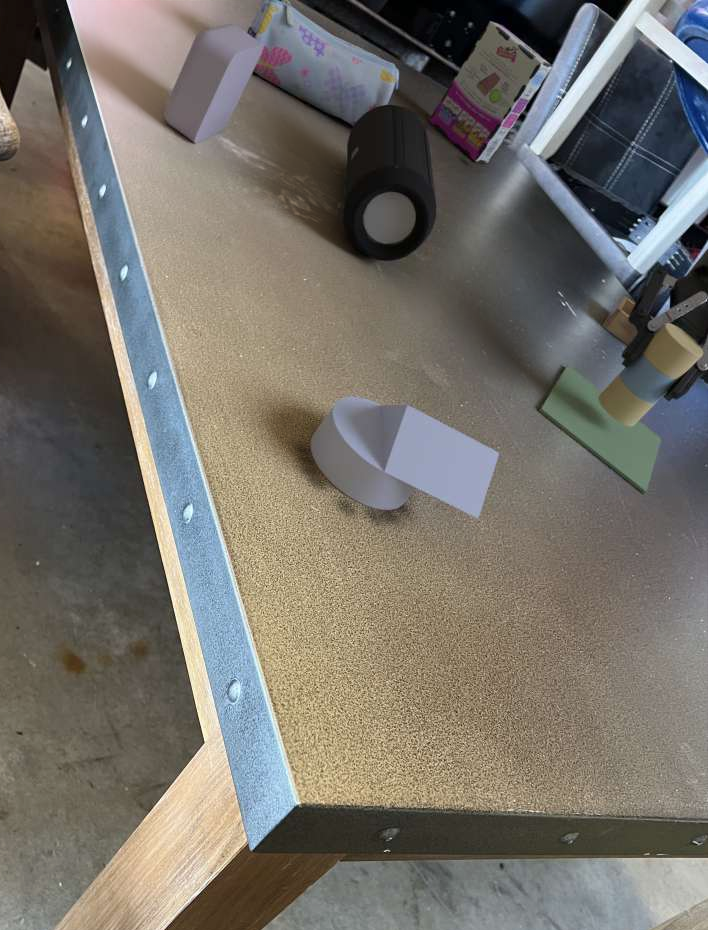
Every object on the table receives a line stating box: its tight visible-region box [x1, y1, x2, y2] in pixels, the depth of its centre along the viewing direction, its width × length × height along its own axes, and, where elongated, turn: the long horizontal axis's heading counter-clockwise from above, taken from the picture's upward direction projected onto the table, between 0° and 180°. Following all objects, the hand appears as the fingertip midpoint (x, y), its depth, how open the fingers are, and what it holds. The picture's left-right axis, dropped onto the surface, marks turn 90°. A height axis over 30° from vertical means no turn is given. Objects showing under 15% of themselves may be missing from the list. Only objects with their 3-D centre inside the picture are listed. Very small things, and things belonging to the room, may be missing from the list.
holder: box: [601, 295, 655, 347], centre depth 133 cm, size 7×7×3 cm
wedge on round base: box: [310, 396, 500, 519], centre depth 75 cm, size 9×7×13 cm
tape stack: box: [598, 323, 703, 426], centre depth 103 cm, size 5×5×10 cm
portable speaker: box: [342, 104, 437, 262], centre depth 110 cm, size 26×10×10 cm, turn 175°
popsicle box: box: [428, 20, 554, 164], centre depth 151 cm, size 11×5×16 cm, turn 47°
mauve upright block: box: [163, 23, 263, 144], centre depth 102 cm, size 10×5×10 cm, turn 159°
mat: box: [538, 364, 662, 495], centre depth 107 cm, size 14×16×1 cm
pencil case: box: [246, 0, 400, 127], centre depth 128 cm, size 21×9×10 cm, turn 88°
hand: (648, 379), depth 101 cm, fingers closed on tape stack, 5 cm apart
